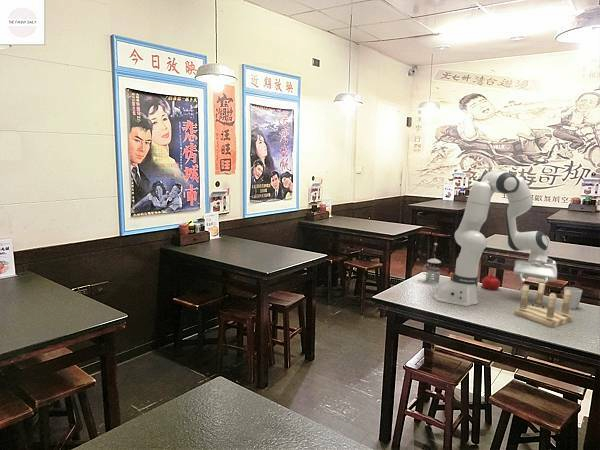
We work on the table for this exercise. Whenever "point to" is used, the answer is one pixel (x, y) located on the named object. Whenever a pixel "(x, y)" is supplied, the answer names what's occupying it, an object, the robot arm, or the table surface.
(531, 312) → the stool
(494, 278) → the pomegranate
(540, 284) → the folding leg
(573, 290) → the cup
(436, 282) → the french press
